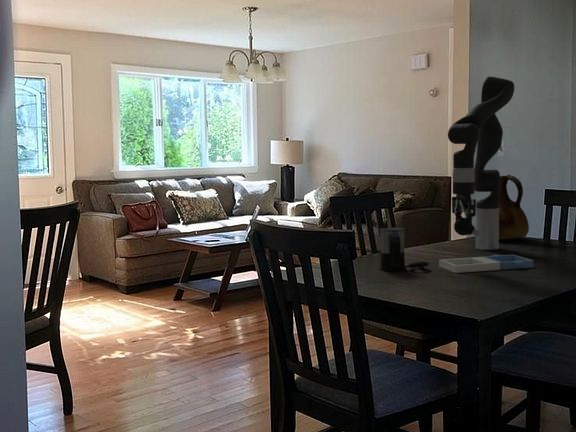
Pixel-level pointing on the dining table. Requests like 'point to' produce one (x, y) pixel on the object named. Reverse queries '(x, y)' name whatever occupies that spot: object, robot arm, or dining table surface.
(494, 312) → the dining table surface
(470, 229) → the light bulb
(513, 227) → the ceramic pitcher
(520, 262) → the two-tone divided frame
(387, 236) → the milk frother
